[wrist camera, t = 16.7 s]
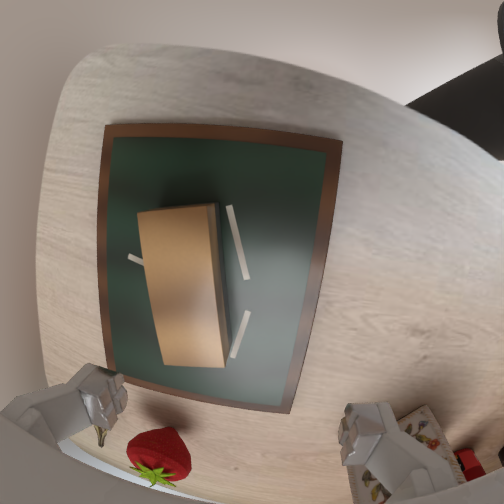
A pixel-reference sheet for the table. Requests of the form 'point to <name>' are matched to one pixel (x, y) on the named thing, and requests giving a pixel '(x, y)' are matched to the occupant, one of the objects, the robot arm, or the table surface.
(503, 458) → the coffee mug
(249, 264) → the chalkboard
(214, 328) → the eraser
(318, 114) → the table surface
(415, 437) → the decorative jar
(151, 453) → the strawberry
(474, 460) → the canned food
